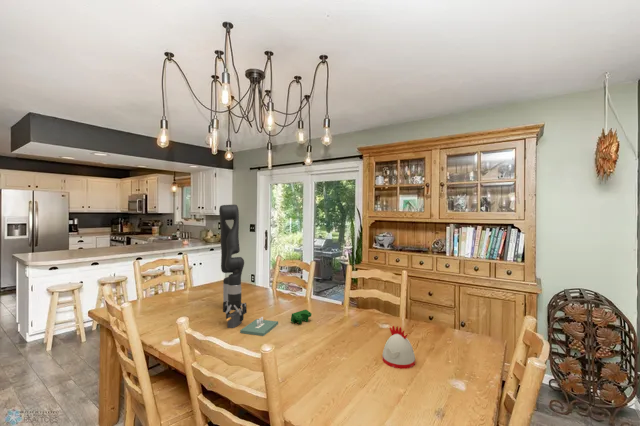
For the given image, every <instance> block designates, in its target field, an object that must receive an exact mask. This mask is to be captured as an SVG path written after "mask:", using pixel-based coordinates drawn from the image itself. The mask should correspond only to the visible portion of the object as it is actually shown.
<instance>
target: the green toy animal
mask: <svg viewBox="0 0 640 426" xmlns="http://www.w3.org/2000/svg"><path fill="white" fill-rule="evenodd" d="M311 317H312V312H311V311H309V310H308V309H303V310H299V311H296V312H292V313H291V315H290V323H293V324H299V325H302V324H303V323H302V322H303V321H304V322H306V323H308V322H309V319H310V318H311Z"/></svg>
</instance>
